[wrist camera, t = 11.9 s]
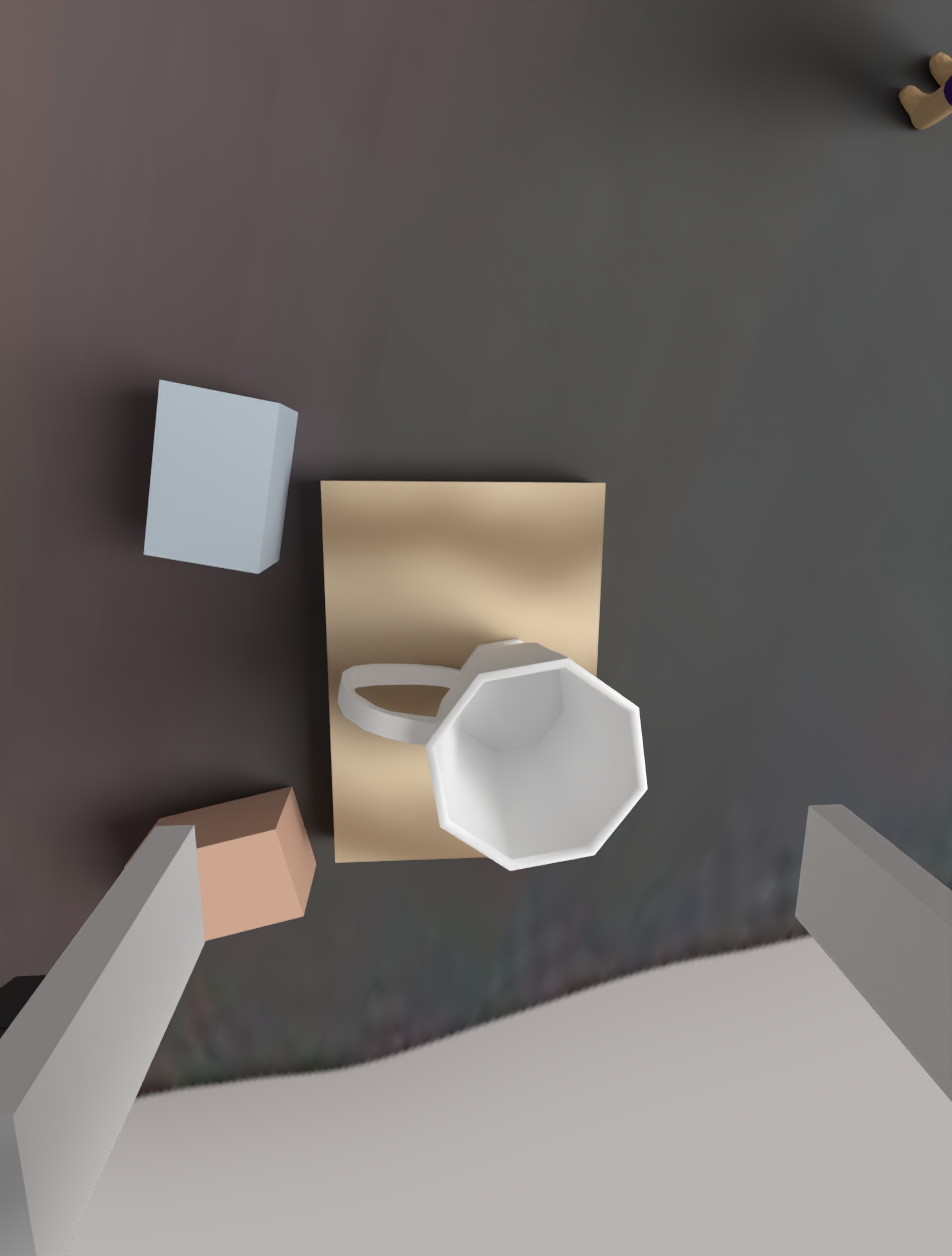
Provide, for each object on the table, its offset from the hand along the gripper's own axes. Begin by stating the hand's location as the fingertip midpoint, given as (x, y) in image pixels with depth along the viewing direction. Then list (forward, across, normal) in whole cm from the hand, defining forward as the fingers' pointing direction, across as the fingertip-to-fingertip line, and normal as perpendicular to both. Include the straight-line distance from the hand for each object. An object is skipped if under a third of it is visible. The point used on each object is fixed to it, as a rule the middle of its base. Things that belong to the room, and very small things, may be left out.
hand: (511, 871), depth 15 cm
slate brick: (+16, -9, +8) cm, 20 cm away
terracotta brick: (+16, -10, -8) cm, 21 cm away
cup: (+14, 0, 0) cm, 14 cm away
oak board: (+16, 0, 0) cm, 16 cm away
